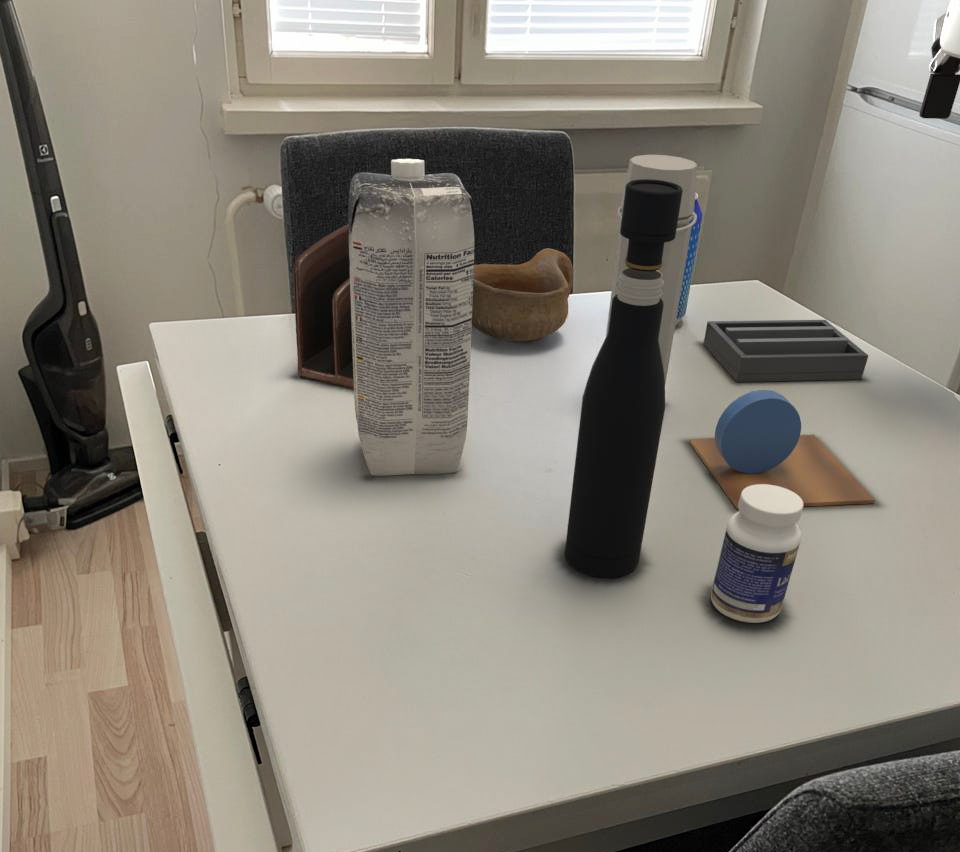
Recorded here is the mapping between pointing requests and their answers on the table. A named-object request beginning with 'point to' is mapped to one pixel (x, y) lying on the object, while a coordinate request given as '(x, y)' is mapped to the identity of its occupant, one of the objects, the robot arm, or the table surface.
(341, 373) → the letter holder
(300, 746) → the table surface
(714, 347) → the dish rack
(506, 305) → the bowl
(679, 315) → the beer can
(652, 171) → the water bottle
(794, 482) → the brown square board
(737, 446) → the blue lid
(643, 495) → the wine bottle
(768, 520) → the pill bottle
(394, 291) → the juice carton
